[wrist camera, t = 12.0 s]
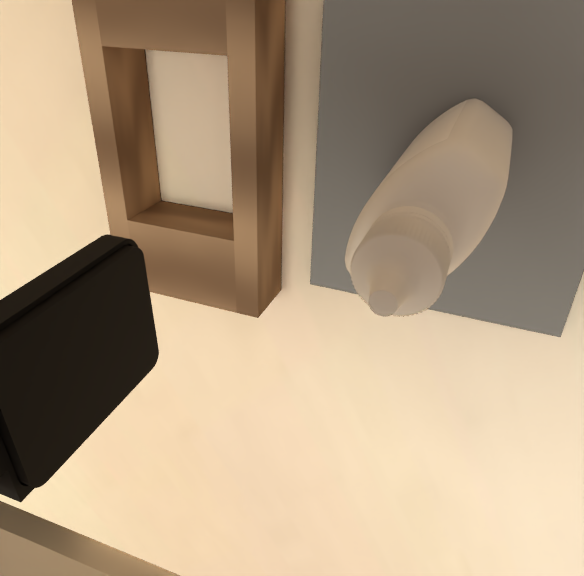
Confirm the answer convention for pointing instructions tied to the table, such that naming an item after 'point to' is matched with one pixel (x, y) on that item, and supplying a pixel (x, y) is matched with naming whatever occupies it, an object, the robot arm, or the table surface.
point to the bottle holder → (142, 155)
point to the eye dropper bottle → (430, 210)
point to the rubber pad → (435, 101)
